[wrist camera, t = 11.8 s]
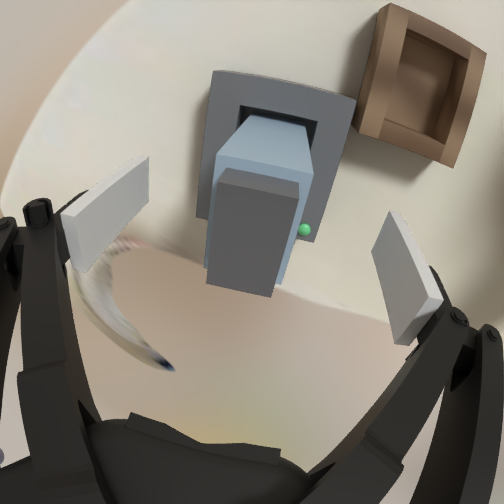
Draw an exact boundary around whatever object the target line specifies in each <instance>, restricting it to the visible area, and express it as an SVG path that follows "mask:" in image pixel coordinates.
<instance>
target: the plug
mask: <svg viewBox="0 0 504 504" xmlns="http://www.w3.org/2000/svg"><path fill="white" fill-rule="evenodd" d="M313 175H314V173H313V167H312V161H311V155H310V150H309V144H308V139H307V133H306V128H305V123H304V122H301V121H297V120H292V119H288V118H283V117H279V116H274V115H269V114H264V113H259V112H253V113H252V114H251V115H250V116H249V117H248V118H247V119H246V120H245V122H244V123H243V124H242V125H241V126H240V127H239V128H238V129H237V131H236V132H235V133H234V134H233V135H232V136H231V137H230V139H229V140H228V141H227V142H226V143H225V144H224V146H223V147H222V148H221V149H220V150H219V151H218V153H217V154H216V160H215V168H214V176H213V184H212V192H211V201H210V210H209V219H208V229H207V239H206V249H205V260H204V268H207V269H208V271H207V281H206V283H207V284H211V285H215V286H220V287H224V288H229V289H233V290H238V291H242V292H247V293H251V294H256V295H261V296H265V297H270V298H271V296H272V292H273V289H274V286H275V284H280V285H281V283H282V280H283V277H284V274H285V271H286V267H287V264H288V261H289V258H290V254H291V251H292V248H293V244H294V241H295V238H296V235H297V231H298V228H299V224H300V221H301V218H302V214H303V211H304V207H305V204H306V200H307V197H308V193H309V190H310V186H311V183H312V179H313Z"/></svg>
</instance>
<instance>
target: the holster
mask: <svg viewBox="0 0 504 504" xmlns="http://www.w3.org/2000/svg"><path fill="white" fill-rule="evenodd" d="M486 54H487V53H485V52H484V51H482V50H481V49H479V48H478V47H476V46H475V45H473V44H471V43H470V42H468V41H467V40H465V39H463V38H462V37H460V36H458V35H456V34H455V33H453V32H451V31H449V30H448V29H446V28H444V27H442V26H440V25H438V24H436V23H434V22H432V21H430V20H428V19H426V18H424V17H422V16H420V15H418V14H416V13H413V12H411V11H409V10H407V9H404V8H402V7H400V6H397V5H395V4H392V3H389V4H387V5H386V6H384V7H382V8H381V9H379V12H378V17H377V22H376V27H375V31H374V36H373V41H372V45H371V49H370V54H369V58H368V62H367V66H366V71H365V75H364V79H363V83H362V87H361V91H360V95H359V98H358V102H357V106H356V110H355V113H354V117H353V121H352V124H351V125H352V126H353V127H354V128H355V129H356V131H357V132H358V133H360V134H364V135H367V136H370V137H373V138H376V139H379V140H382V141H385V142H388V143H390V144H393V145H396V146H399V147H402V148H404V149H407V150H409V151H412V152H415V153H417V154H420V155H422V156H425V157H427V158H430V159H432V160H434V161H437V162H439V163H441V164H444V165H446V166H448V167H450V168H454V165H455V163H456V160H457V157H458V155H459V152H460V149H461V146H462V143H463V140H464V138H465V135H466V131H467V128H468V125H469V122H470V119H471V116H472V112H473V109H474V105H475V102H476V98H477V94H478V90H479V86H480V82H481V78H482V74H483V69H484V64H485V59H486Z"/></svg>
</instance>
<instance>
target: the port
mask: <svg viewBox="0 0 504 504" xmlns="http://www.w3.org/2000/svg"><path fill="white" fill-rule="evenodd" d="M356 102H357V101H356V100H355V99H353V98H351V97H349V96H345V95H342V94H339V93H335V92H331V91H328V90H324V89H320V88H316V87H312V86H308V85H304V84H300V83H295V82H291V81H286V80H281V79H276V78H271V77H265V76H260V75H254V74H247V73H240V72H233V71H225V70H217V71H213V74H212V81H211V88H210V94H209V101H208V109H207V116H206V124H205V132H204V140H203V149H202V158H201V167H200V177H199V187H198V198H197V209H196V217H197V218H202V219H207V220H208V219H209V210H210V201H211V192H212V184H213V176H214V168H215V160H216V154H217V153H218V151H219V150H220V149H221V148H222V147H223V146H224V144H225V143H226V142H227V141H228V140H229V139H230V137H231V136H232V135H233V134H234V133H235V132H236V131H237V129H238V128H239V127H240V126H241V125H242V124H243V123H244V122H245V120H246V119H247V118H248V117H249V116H250V115H251V114H252V113H253V112H259V113H264V114H269V115H274V116H279V117H283V118H288V119H292V120H297V121H301V122H304V123H305V128H306V133H307V139H308V144H309V150H310V155H311V161H312V167H313V173H314V175H313V179H312V183H311V186H310V190H309V193H308V197H307V200H306V204H305V207H304V211H303V214H302V218H301V221H300V224H299V228H298V231H297V235H296V238H295V239H300V240H304V241H308V242H313V243H314V240H315V238H316V235H317V232H318V229H319V226H320V223H321V220H322V217H323V214H324V210H325V207H326V204H327V201H328V198H329V195H330V192H331V189H332V185H333V182H334V179H335V176H336V172H337V169H338V166H339V162H340V159H341V156H342V152H343V149H344V145H345V142H346V138H347V135H348V131H349V128H350V124H351V121H352V117H353V113H354V109H355V106H356Z"/></svg>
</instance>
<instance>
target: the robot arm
mask: <svg viewBox="0 0 504 504" xmlns="http://www.w3.org/2000/svg"><path fill="white" fill-rule="evenodd" d="M148 201H149V157H146V156H139V155H137V156H135V157H134V158H132V159H131V160H129V161H128V162H126V163H125V164H123V165H122V166H121V167H119V168H118V169H116V170H115V171H114V172H112V173H111V174H109V175H108V176H107V177H105V178H104V179H103V180H101V181H100V182H99V183H97V184H96V185H95V186H93V187H92V188H91V189H90V190H86V191H84V192H82V193H80V194H78V195H77V196H75V197H74V198H73V199H72V200H70V201H69V202H68V203H67V205H64V206H63V207H62V208H61V209H59V210H58V211H57V212H56V213H55V214H53V209H52V203H51V200H49V199H48V198H39V199H35V200H32V201H30V202H29V203H27V204H26V205H25V206H24V208H23V214H24V218H25V222H26V226H27V227H17V223H16V220H15V218H13V217H3V218H2V219H0V418H1V409H2V398H3V388H4V379H5V373H6V366H7V360H8V354H9V349H10V343H11V338H12V334H13V329H14V325H15V321H16V316H17V313H18V309H19V305H20V301H21V340H22V356H23V371H22V372H19V373H18V375H17V386H18V394H19V401H20V408H21V413H22V419H23V424H24V430H25V434H26V438H27V443H28V447H29V451H30V456H28V457H25V458H23V459H21V460H19V461H17V462H15V463H12V464H10V465H8V466H5V467H3V468H1V467H0V504H379V503H380V501H381V500H382V499H383V498H384V496H385V495H386V494H387V493H388V491H389V490H390V488H391V487H392V486H393V485H394V483H395V482H396V480H397V479H398V478H399V476H400V475H401V473H402V471H403V468H404V465H403V464H402V463H401V462H402V459H403V458H404V456H405V454H406V453H407V452H408V450H409V449H410V447H411V445H412V444H413V442H414V441H415V439H416V438H417V436H418V434H419V432H420V431H421V429H422V428H423V426H424V424H425V422H426V421H427V419H428V417H429V415H430V413H431V412H432V410H433V408H434V406H435V404H436V402H437V400H438V398H439V396H440V394H441V392H442V390H443V388H444V393H443V398H442V403H441V407H440V411H439V415H438V420H437V424H436V428H435V431H434V435H433V439H432V442H431V445H430V449H429V452H428V455H427V458H426V461H425V464H424V468H423V470H422V473H421V476H420V478H419V481H418V484H417V486H416V489H415V491H414V494H413V496H412V499H411V501H410V503H409V504H488V503H489V500H490V496H491V492H492V487H493V482H494V478H495V473H496V468H497V462H498V456H499V449H500V441H501V433H502V422H503V405H504V359H503V343H502V338H501V336H500V334H499V332H498V331H497V329H496V328H494V327H493V326H491V325H489V324H485V325H483V326H482V328H481V329H480V330H479V331H478V330H476V329H474V328H472V327H470V326H469V321H468V319H467V317H466V315H465V314H464V313H463V312H462V311H461V310H459V309H458V308H456V307H452V305H451V302H450V300H449V298H448V296H447V293H446V291H445V289H444V287H443V284H442V283H441V280H440V278H439V276H438V274H437V273H436V271H435V270H434V269H433V268H432V267H431V266H429V265H428V264H427V262H426V260H425V258H424V256H423V254H422V252H421V250H420V248H419V246H418V244H417V242H416V240H415V238H414V236H413V234H412V232H411V231H410V229H409V227H408V225H407V223H406V221H405V220H404V218H403V216H402V214H400V213H397V212H393V211H390V210H389V212H388V215H387V217H386V220H385V222H384V224H383V226H382V229H381V231H380V233H379V235H378V238H377V240H376V242H375V244H374V247H373V249H372V251H371V252H372V256H373V259H374V262H375V266H376V269H377V273H378V277H379V280H380V284H381V288H382V292H383V296H384V300H385V304H386V308H387V312H388V316H389V321H390V325H391V330H392V334H393V339H394V344H399V345H406V346H409V345H410V344H411V343H412V342H413V340H414V339H415V338H416V337H417V340H418V345H417V346H416V348H415V349H414V350H413V351H412V352H411V354H410V355H409V356H408V357H407V358H406V359H405V360H406V362H405V364H404V365H403V366H402V368H401V369H400V371H399V372H398V373H397V375H396V376H395V378H394V379H393V380H392V382H391V383H390V384H389V386H388V387H387V388H386V390H385V391H384V392H383V393H382V395H381V396H380V397H379V398H378V400H377V401H376V402H375V403H374V405H373V406H372V407H371V408H370V410H369V411H368V412H367V413H366V414H365V416H364V417H363V418H362V419H361V420H360V421H359V422H358V424H357V425H356V426H355V427H354V428H353V429H352V431H351V432H350V433H349V434H348V435H347V436H346V437H345V438H344V439H343V440H342V442H341V443H339V444H338V446H337V447H336V448H335V449H334V450H333V451H332V452H331V453H330V454H329V455H328V456H327V457H326V458H325V459H323V460H322V461H321V462H320V463H319V464H317V465H316V466H315V467H314V468H312V469H311V470H310V471H309V472H308V473H306V472H305V471H303V470H302V469H301V468H300V467H298V466H297V465H295V464H294V463H292V462H291V461H289V460H287V459H285V458H282V457H280V452H281V449H278V448H271V447H264V446H258V445H252V444H246V443H232V444H230V443H229V444H204V443H200V442H198V441H196V440H194V439H192V438H190V437H188V436H186V435H184V434H183V433H181V432H179V431H177V430H176V429H174V428H172V427H170V426H168V425H167V424H165V423H161V422H158V421H155V420H152V419H149V418H146V417H143V416H141V415H138V414H135V413H132V412H131V413H130V415H129V418H128V419H111V420H105V421H102V420H101V418H100V415H99V413H98V411H97V409H96V407H95V404H94V401H93V398H92V395H91V392H90V388H89V385H88V381H87V377H86V374H85V370H84V366H83V362H82V358H81V353H80V349H79V344H78V340H77V335H76V330H75V324H74V319H73V313H72V307H71V300H70V293H69V286H68V278H67V269H66V266H65V263H66V262H67V261H68V259H69V258H70V261H71V264H72V268H73V269H75V270H78V271H81V272H84V273H87V271H88V270H89V269H90V268H91V266H92V265H93V264H94V263H95V262H96V260H97V259H98V258H99V257H100V255H101V254H102V253H103V252H104V251H105V249H106V248H107V247H108V246H109V245H110V244H111V242H112V241H113V240H114V239H115V238H116V237H117V235H118V234H119V233H120V232H121V231H122V230H123V229H124V228H125V226H126V225H127V224H128V223H129V222H130V221H131V220H132V219H133V218H134V216H135V215H136V214H137V213H138V212H139V211H140V210H141V209H142V208H143V207H144V206H145V205H146V204H147V203H148ZM444 386H445V387H444ZM3 460H4V453H3V451H2V450H1V449H0V464H1V463H2V462H3Z"/></svg>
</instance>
